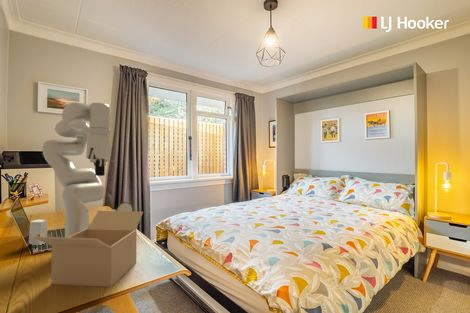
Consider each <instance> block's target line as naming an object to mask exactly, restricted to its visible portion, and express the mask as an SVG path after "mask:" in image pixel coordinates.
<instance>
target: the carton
mask: <svg viewBox="0 0 470 313" xmlns="http://www.w3.org/2000/svg"><path fill="white" fill-rule="evenodd" d="M69 237H71V238H97V239H99V240H100V241H102V242H104V243H105V244H107V245H109V246H110V248H101V247H72V246H51V285H61V286H62V285H65V286H85V287H86V286H87V287H89V286H90V287H109V288H111V287H113V286H114V285H115V284H116V283H117V282H118V281H119V280H120V279H122V277H123V276H124V275H125V274H126V273H128V271H129V270H130V269H131V268H132V267H133V266H134V265H136V264H137V229H136V230H125V229H91V228H87V229H85V230H82V231H80V232H78V233H76V234H74V235H72V236H69Z"/></svg>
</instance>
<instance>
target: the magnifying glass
mask: <svg viewBox="0 0 470 313" xmlns="http://www.w3.org/2000/svg"><path fill="white" fill-rule="evenodd" d="M115 210H116V211H134V207H133V205H132V204H131V203H130V202H128V201H127V202H126V201H125V202H124V201H123V202H121V203H120V204H118V206H117V207H116V209H115Z"/></svg>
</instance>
